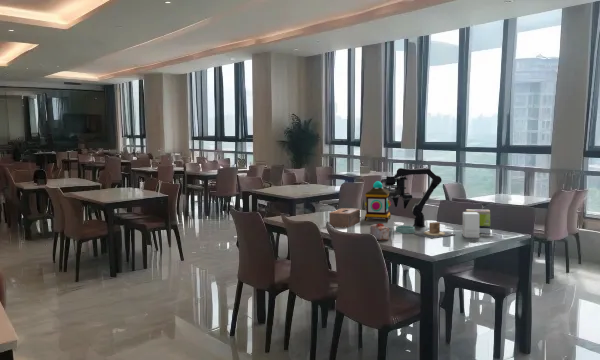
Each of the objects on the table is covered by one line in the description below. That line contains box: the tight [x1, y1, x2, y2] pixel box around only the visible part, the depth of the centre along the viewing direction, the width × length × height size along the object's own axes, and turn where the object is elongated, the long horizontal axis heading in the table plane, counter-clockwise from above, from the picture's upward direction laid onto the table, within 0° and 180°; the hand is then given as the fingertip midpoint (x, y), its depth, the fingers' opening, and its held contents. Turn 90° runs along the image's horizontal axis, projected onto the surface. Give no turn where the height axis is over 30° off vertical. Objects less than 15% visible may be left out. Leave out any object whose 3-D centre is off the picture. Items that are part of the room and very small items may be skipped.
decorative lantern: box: [364, 180, 392, 223], centre depth 370 cm, size 20×20×30 cm
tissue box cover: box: [328, 207, 361, 229], centre depth 355 cm, size 26×14×10 cm, turn 154°
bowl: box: [395, 225, 416, 234], centre depth 323 cm, size 12×12×3 cm
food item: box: [369, 223, 390, 241], centre depth 301 cm, size 14×8×10 cm, turn 24°
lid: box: [423, 221, 445, 236], centre depth 311 cm, size 13×13×7 cm
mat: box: [413, 230, 456, 239], centre depth 311 cm, size 20×16×1 cm
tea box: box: [465, 208, 491, 235], centre depth 317 cm, size 15×10×15 cm
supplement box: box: [462, 211, 480, 239], centre depth 304 cm, size 9×9×15 cm
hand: (400, 207), depth 343 cm, fingers open, 9 cm apart
